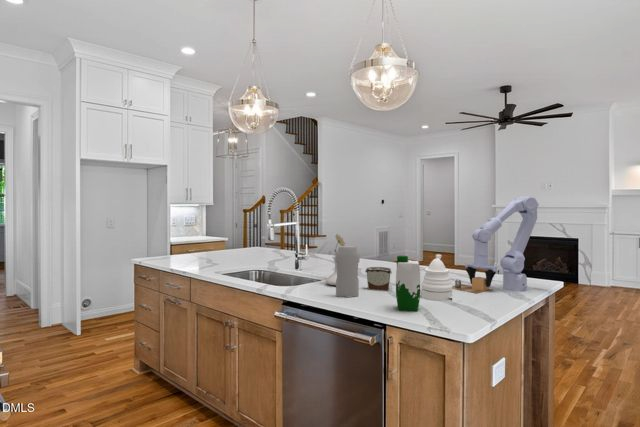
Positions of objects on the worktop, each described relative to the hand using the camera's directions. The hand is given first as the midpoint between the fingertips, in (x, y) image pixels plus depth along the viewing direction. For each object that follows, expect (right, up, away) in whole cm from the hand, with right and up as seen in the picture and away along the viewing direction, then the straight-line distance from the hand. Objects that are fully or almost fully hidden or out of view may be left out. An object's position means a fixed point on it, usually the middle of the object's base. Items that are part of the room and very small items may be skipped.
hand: (480, 285), depth 183 cm
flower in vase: (-65, -3, +16) cm, 66 cm away
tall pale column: (-61, -3, -10) cm, 62 cm away
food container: (-45, -3, +5) cm, 46 cm away
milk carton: (-40, -4, -30) cm, 50 cm away
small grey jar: (-9, -2, +3) cm, 10 cm away
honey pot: (-23, -4, -10) cm, 25 cm away
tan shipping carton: (0, -2, 0) cm, 2 cm away
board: (-5, -3, +1) cm, 6 cm away
